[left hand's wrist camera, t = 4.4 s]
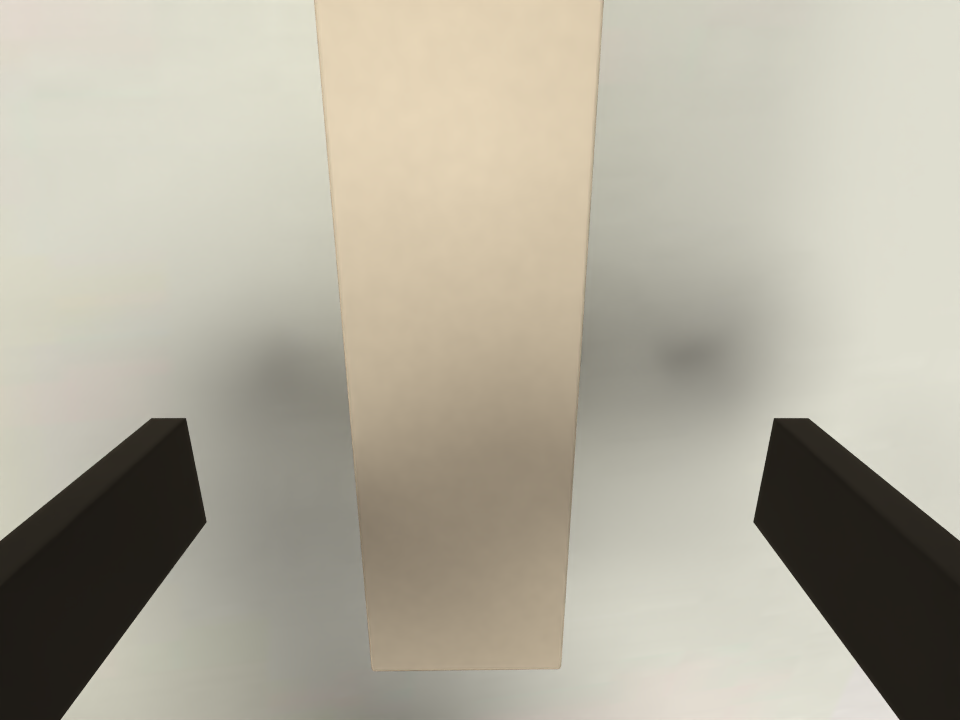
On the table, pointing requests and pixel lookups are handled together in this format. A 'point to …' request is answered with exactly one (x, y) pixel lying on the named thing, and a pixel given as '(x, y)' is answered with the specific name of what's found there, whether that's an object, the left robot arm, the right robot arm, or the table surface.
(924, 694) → the left robot arm
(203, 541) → the table surface
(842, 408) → the table surface
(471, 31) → the bar
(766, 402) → the table surface
